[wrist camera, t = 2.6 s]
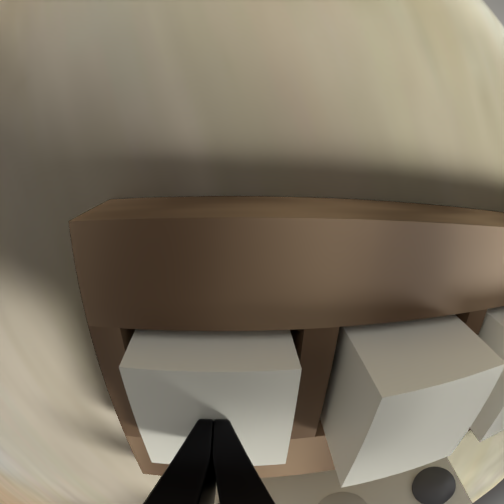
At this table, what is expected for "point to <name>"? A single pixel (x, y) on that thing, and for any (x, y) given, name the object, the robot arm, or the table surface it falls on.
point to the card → (371, 488)
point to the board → (278, 282)
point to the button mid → (403, 394)
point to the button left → (213, 388)
